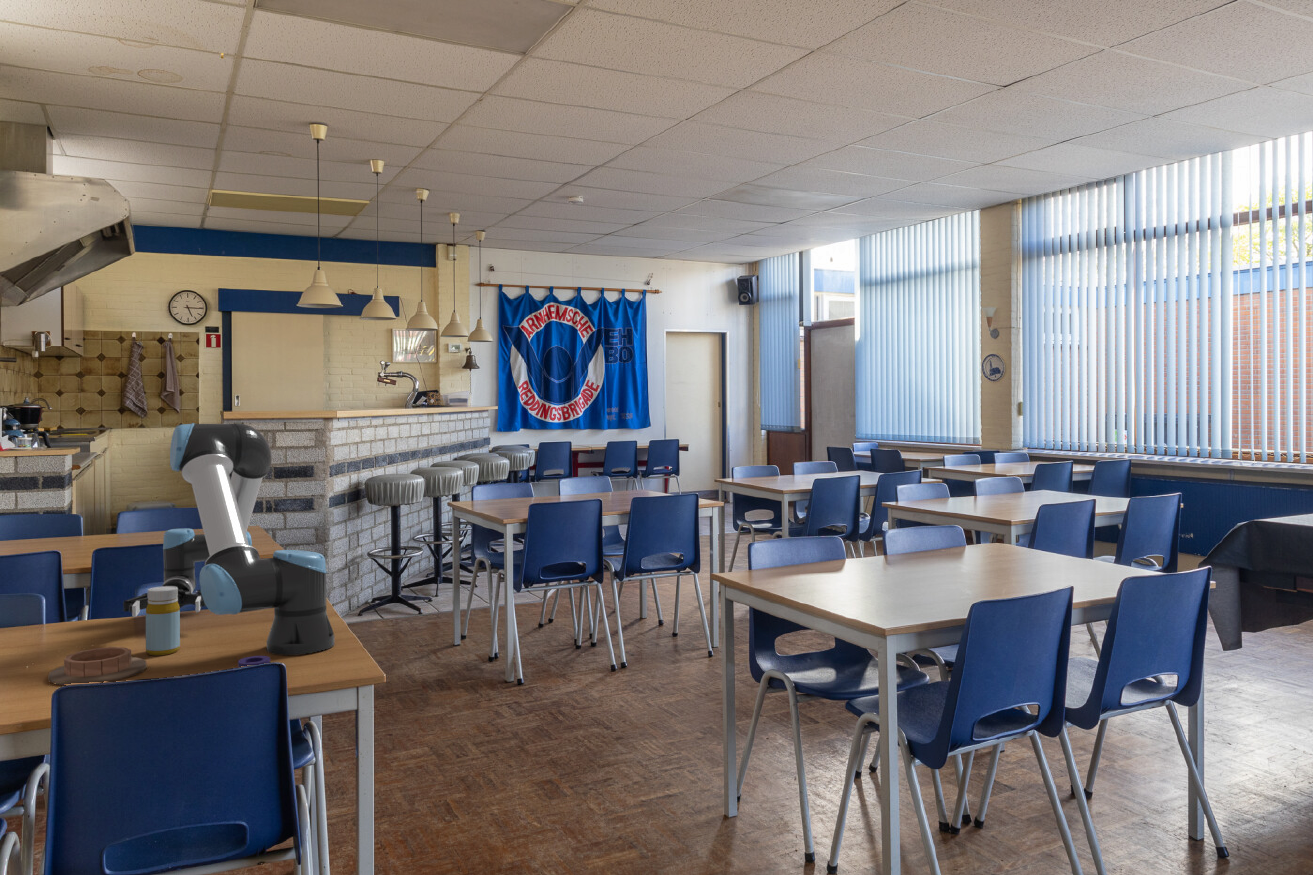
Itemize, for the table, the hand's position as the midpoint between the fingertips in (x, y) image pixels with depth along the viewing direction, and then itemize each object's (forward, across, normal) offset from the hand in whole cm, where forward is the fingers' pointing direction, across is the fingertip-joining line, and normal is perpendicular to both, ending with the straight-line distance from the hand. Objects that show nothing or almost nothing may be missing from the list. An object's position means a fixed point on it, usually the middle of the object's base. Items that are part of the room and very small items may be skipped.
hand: (165, 609), depth 217 cm
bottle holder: (+22, +11, -8) cm, 26 cm away
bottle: (+9, 0, -9) cm, 12 cm away
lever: (+37, -18, -9) cm, 42 cm away
